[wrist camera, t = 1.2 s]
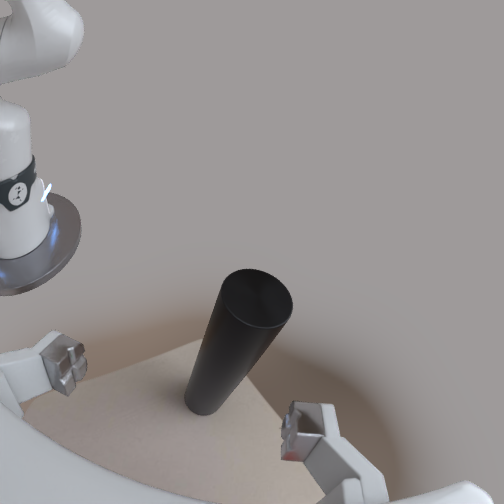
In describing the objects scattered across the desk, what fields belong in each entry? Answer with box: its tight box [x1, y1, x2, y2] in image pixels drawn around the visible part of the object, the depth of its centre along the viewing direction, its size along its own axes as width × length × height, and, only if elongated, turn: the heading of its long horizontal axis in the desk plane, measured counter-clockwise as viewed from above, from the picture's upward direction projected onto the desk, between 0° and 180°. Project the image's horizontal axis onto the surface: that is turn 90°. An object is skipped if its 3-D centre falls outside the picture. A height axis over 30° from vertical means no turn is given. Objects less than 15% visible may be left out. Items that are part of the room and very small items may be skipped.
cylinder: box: [185, 269, 293, 415], centre depth 24 cm, size 5×5×22 cm
